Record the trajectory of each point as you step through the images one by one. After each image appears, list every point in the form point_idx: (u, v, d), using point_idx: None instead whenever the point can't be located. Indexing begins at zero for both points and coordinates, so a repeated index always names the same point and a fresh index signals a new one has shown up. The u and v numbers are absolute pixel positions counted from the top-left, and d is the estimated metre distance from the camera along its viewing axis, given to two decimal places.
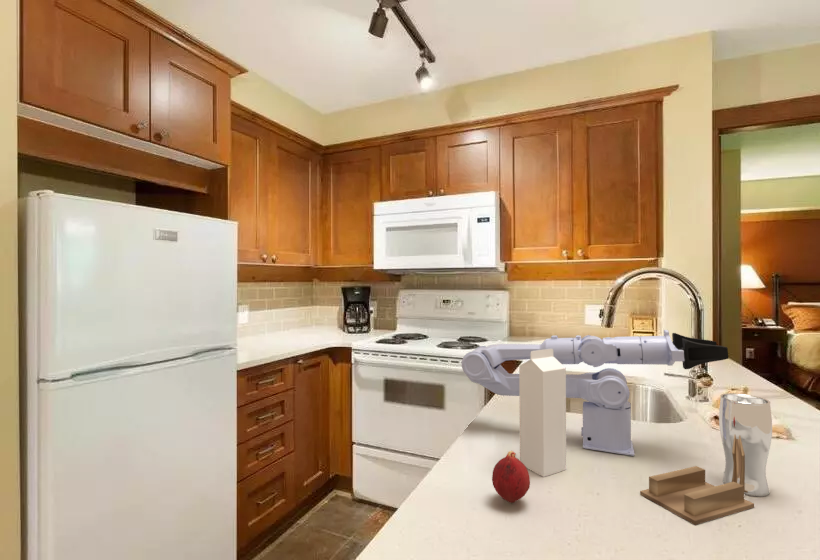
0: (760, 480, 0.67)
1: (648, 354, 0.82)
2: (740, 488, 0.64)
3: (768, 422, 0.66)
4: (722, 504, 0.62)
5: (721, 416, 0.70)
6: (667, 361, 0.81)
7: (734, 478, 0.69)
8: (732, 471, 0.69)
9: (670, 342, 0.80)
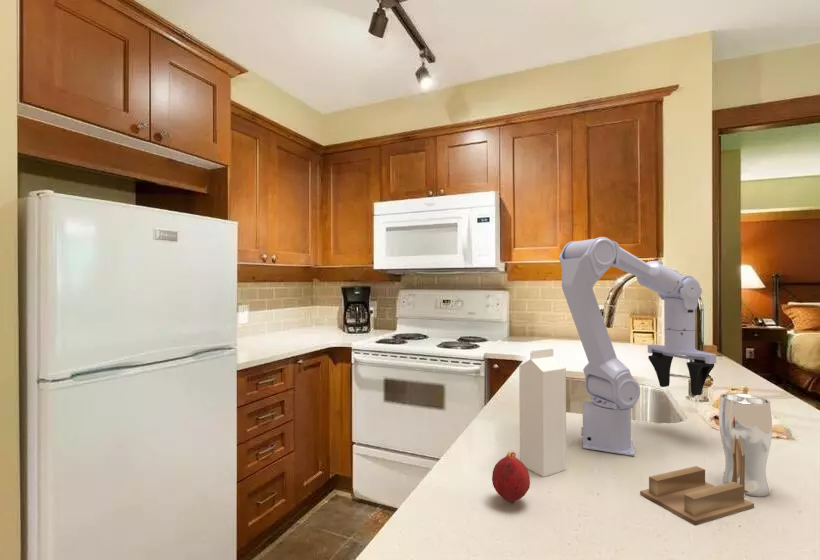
0: (760, 480, 0.67)
1: (690, 335, 0.89)
2: (740, 488, 0.64)
3: (768, 422, 0.66)
4: (722, 504, 0.62)
5: (721, 416, 0.70)
6: (682, 350, 0.89)
7: (734, 478, 0.69)
8: (732, 471, 0.69)
9: None
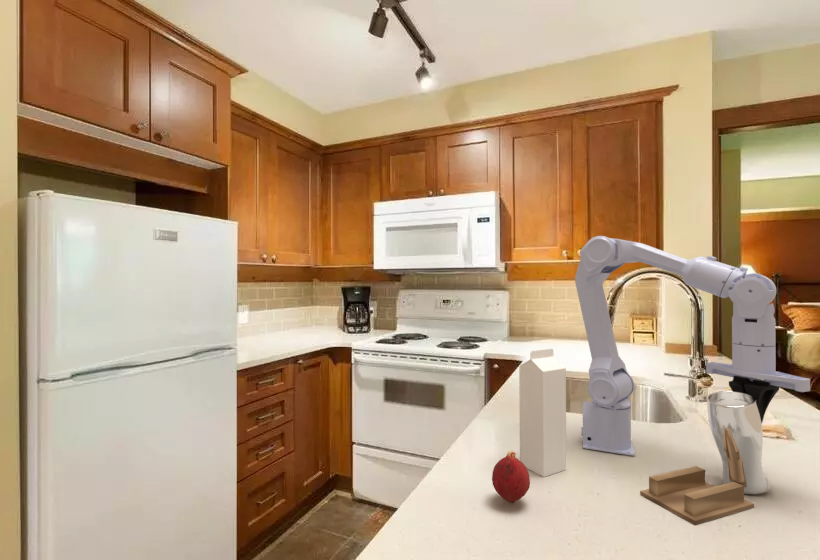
0: (757, 478, 0.67)
1: (770, 352, 0.68)
2: (740, 488, 0.64)
3: (756, 421, 0.66)
4: (722, 504, 0.62)
5: (710, 419, 0.70)
6: (760, 372, 0.68)
7: (732, 478, 0.68)
8: (729, 471, 0.69)
9: None
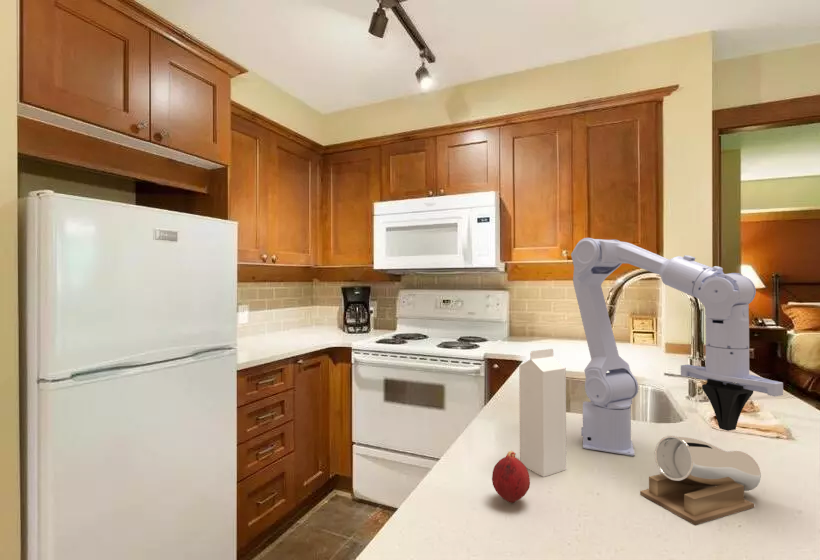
0: (742, 484, 0.66)
1: (743, 355, 0.65)
2: (740, 488, 0.64)
3: (705, 477, 0.62)
4: (722, 504, 0.62)
5: (670, 465, 0.68)
6: (732, 375, 0.65)
7: None
8: None
9: None
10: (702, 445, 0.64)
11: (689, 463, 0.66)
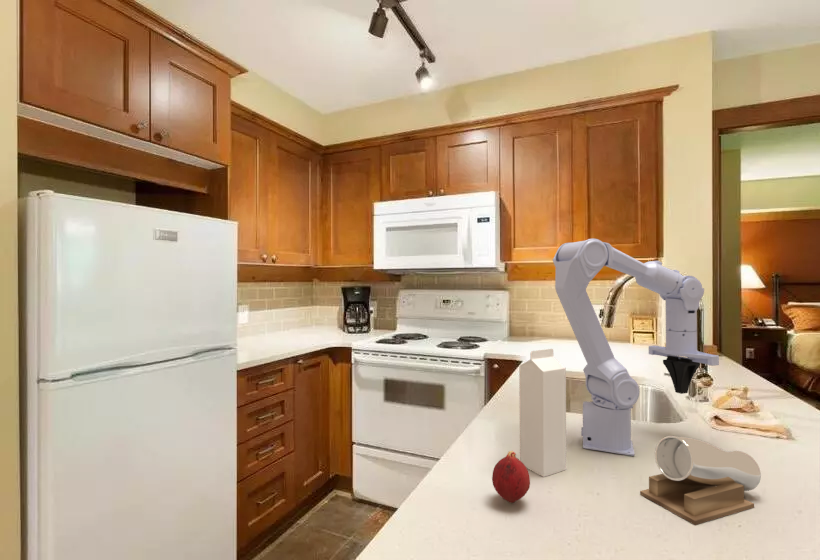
0: (742, 484, 0.66)
1: (692, 336, 0.88)
2: (740, 488, 0.64)
3: (705, 477, 0.62)
4: (722, 504, 0.62)
5: (670, 465, 0.68)
6: (684, 351, 0.88)
7: None
8: None
9: None
10: (702, 445, 0.64)
11: (689, 463, 0.66)
